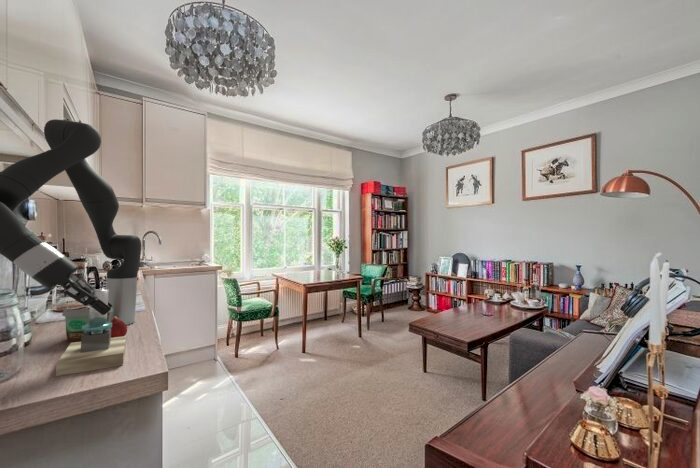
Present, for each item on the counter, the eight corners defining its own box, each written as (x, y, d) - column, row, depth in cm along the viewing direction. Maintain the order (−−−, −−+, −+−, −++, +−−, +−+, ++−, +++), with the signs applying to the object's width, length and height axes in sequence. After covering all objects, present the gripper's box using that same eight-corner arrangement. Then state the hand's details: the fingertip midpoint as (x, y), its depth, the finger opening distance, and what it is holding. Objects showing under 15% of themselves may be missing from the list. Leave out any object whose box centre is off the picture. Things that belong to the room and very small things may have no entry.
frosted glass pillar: (82, 345, 77) (86, 289, 78) (111, 341, 81) (115, 287, 81) (78, 352, 72) (82, 292, 73) (109, 348, 76) (113, 290, 76)
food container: (51, 345, 85) (53, 311, 86) (61, 339, 91) (64, 306, 91) (104, 341, 90) (106, 308, 91) (111, 335, 96) (113, 304, 96)
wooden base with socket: (70, 354, 79) (71, 327, 80) (125, 346, 86) (127, 322, 87) (55, 376, 66) (58, 344, 67) (122, 365, 73) (124, 336, 74)
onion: (131, 340, 91) (132, 314, 92) (114, 347, 86) (116, 319, 86) (114, 339, 92) (115, 313, 92) (96, 345, 86) (98, 318, 86)
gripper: (56, 255, 67) (120, 304, 74) (69, 253, 79) (123, 295, 86) (21, 279, 64) (90, 328, 71) (39, 273, 76) (98, 316, 82)
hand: (108, 310), depth 78 cm, fingers closed on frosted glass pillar, 3 cm apart
